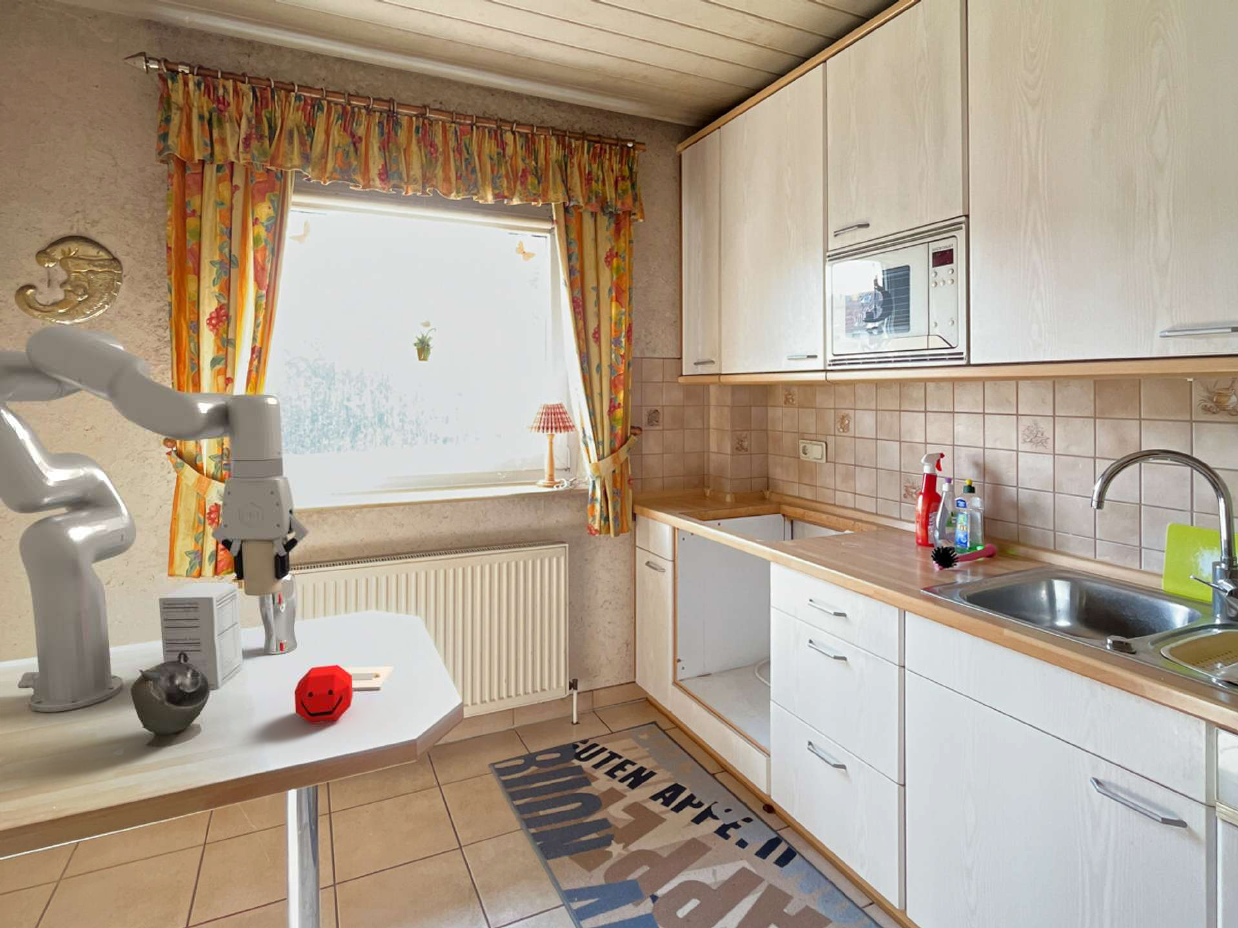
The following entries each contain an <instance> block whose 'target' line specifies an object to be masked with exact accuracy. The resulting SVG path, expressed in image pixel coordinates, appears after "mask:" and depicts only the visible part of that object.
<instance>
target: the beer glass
mask: <svg viewBox="0 0 1238 928" xmlns="http://www.w3.org/2000/svg"><path fill="white" fill-rule="evenodd" d="M257 597H258V606H259V612H260V617H261V620H262V621H261V622H262V624H263V628H264V635H265V636H264V643H263V652H264V653H265V654H267V655H281V654H285V653H289V652H293V651H294V650H295V649H297V647H298V643H297V639H296V634H295V622H296V615H297V608H298V605H297V604H298V590H297V583H296V575H295V574H294V573H291V572H288V575H287V576H285V577H284V578H282V579H281V590H280V591H279V592H276V593H273V594H268V595H261V596H257Z"/></svg>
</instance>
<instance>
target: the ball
mask: <svg viewBox="0 0 1238 928" xmlns="http://www.w3.org/2000/svg"><path fill="white" fill-rule="evenodd" d="M342 668H343V667H342V666H340V665H339V664H335V665H334V664H333V665H326V666H325V665H324V666H323V665H322V666H315V667H311V668H310V669H309V670H308V672H306V673H305V674H304V675H303V676H302V677H301V679H299V681H298V682H297V685H296V687H295V690H294V704H295V705H294V707H295V708H294V711H295V713H296V714H297V716H300V717H301V718H302V719H304V720H305V721H306V722H307V723H309V724H319V723H326V722H334V721H336V722H337V721H338V720H339V719H340V718H341V717H342V716H343V715H344V714H345V713H346V711H348V710H349V708H350V707H351V705H352V700H353V696H354V694H353V693H354V692H353V691H354V690H352V675H350V674H349V673H348V672H346V671H345V670H344V669H342Z"/></svg>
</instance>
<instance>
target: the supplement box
mask: <svg viewBox="0 0 1238 928" xmlns="http://www.w3.org/2000/svg"><path fill="white" fill-rule="evenodd" d="M239 593H240V592H239V583H238V582H189V583H187V584H184V585H183V586H180V587H179V588H177V589H175V590H173V591H171V592H169V593H167V594H164V595H163V596H161V597H159V599H158V604H159V615H160V616H159V617H160V630H161V631H160V632H161V642H162V643H161V644H162V655H163V658H162V659H163V663H164V662H168V661H173V660H178V655H179V653H181V652H183V653H186V655H187V656H188V658H189V660H188V661H187V662H188V663H190V664H192V665H194V666H196V667H197V668H198V669H200V670H201V671H202V672H203V673H204V675H205V676H206V677H207V679H208V682H209V685H210V690H219V689H220V688H222V687H223V685H225V684H226V683H227V682H228V681H230V680H231V679H232V678H233V677H234V676H235V675H236V674H238V673H239V672H240V671H241V670H242V669H243V668H244V664H243V663H244V662H243V660H244V659H243V648H242V647H243V646H242V645H243V644H242V643H243V642H242V632H241V631H242V629H241V614H240V611H241V610H240V599H239V598H240V597H239Z"/></svg>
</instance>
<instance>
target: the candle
mask: <svg viewBox="0 0 1238 928" xmlns="http://www.w3.org/2000/svg"><path fill="white" fill-rule="evenodd" d="M242 555H243V574H244V579H243V588H244V591H243V592H244V594H245V595H246V596H251V597H256V596H257V597H258V596H261V595H268V594H273V593H276V592H279V591H280V590H281V579H278V580H277V579H276V575H275V556H277V555H278V552H277V550H276V547H275V545H274V542H273V540H244V541H243V542H242Z"/></svg>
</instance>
